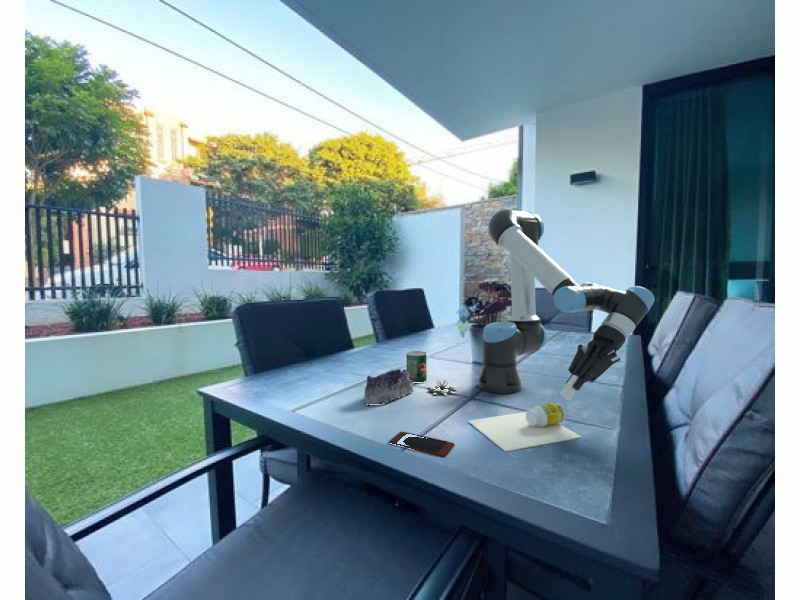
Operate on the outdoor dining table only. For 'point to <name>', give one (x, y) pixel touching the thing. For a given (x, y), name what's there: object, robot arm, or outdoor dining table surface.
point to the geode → (388, 387)
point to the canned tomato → (417, 366)
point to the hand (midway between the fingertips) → (564, 396)
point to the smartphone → (425, 444)
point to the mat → (520, 432)
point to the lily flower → (442, 387)
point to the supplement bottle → (545, 415)
